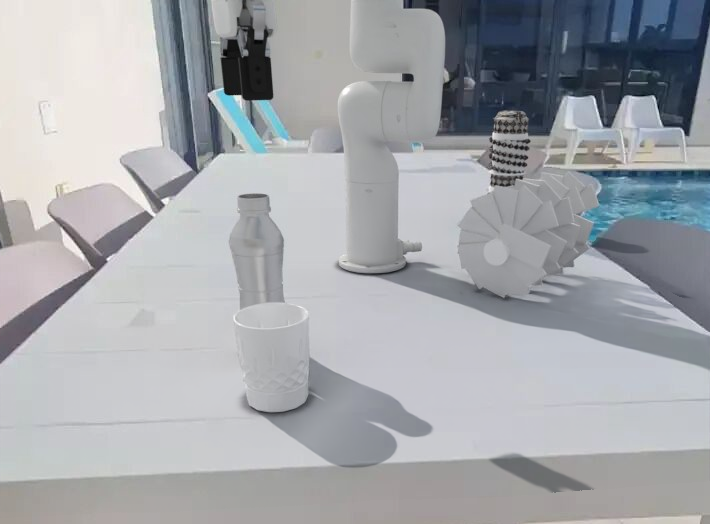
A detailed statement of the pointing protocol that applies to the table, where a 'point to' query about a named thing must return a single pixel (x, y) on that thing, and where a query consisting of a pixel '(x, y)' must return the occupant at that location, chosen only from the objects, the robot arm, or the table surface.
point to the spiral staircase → (525, 232)
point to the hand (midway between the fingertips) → (247, 97)
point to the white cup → (274, 355)
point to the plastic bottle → (257, 252)
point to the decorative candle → (508, 148)
